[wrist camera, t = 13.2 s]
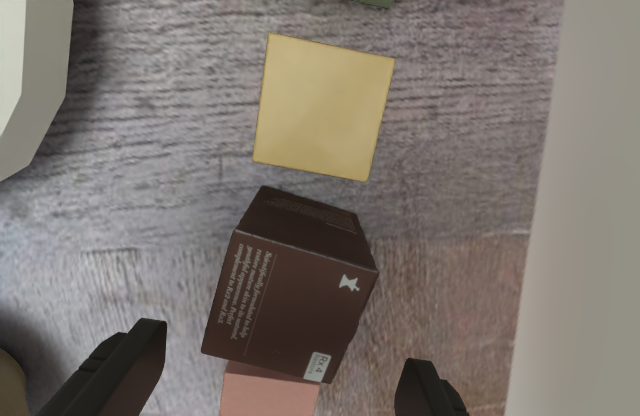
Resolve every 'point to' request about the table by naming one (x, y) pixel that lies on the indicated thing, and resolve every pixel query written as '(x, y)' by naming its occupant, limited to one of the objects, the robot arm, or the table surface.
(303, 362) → the box
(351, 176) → the block
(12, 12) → the candle holder
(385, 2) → the block
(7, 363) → the bowl
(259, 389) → the block
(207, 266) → the table surface
